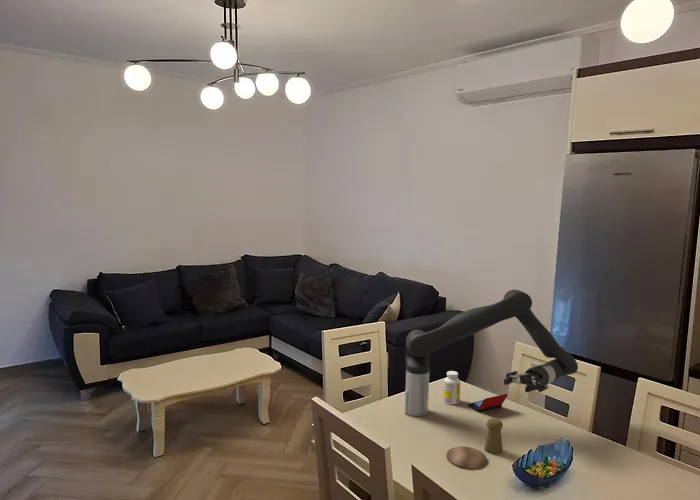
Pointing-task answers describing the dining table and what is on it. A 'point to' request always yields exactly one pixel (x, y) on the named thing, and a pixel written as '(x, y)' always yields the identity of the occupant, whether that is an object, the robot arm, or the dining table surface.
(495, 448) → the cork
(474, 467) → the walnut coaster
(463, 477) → the dining table surface
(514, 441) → the dining table surface
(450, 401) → the supplement bottle
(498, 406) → the handheld game console
